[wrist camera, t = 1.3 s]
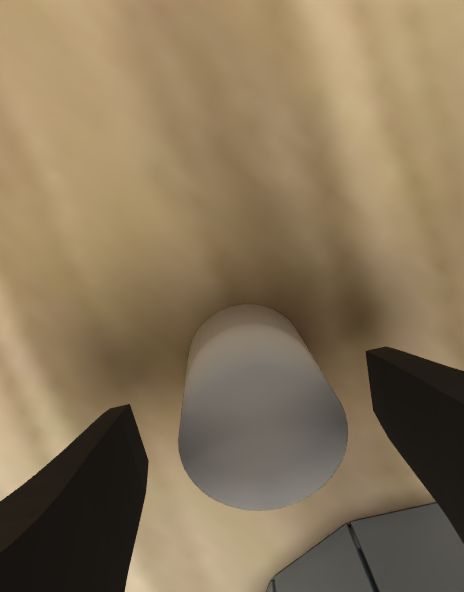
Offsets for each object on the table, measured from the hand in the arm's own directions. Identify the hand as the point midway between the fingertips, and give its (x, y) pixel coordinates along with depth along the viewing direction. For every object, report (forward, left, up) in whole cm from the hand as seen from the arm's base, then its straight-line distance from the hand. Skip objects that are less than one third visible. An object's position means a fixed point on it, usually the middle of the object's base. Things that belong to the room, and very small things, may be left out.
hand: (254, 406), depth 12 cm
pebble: (0, 0, -3) cm, 3 cm away
